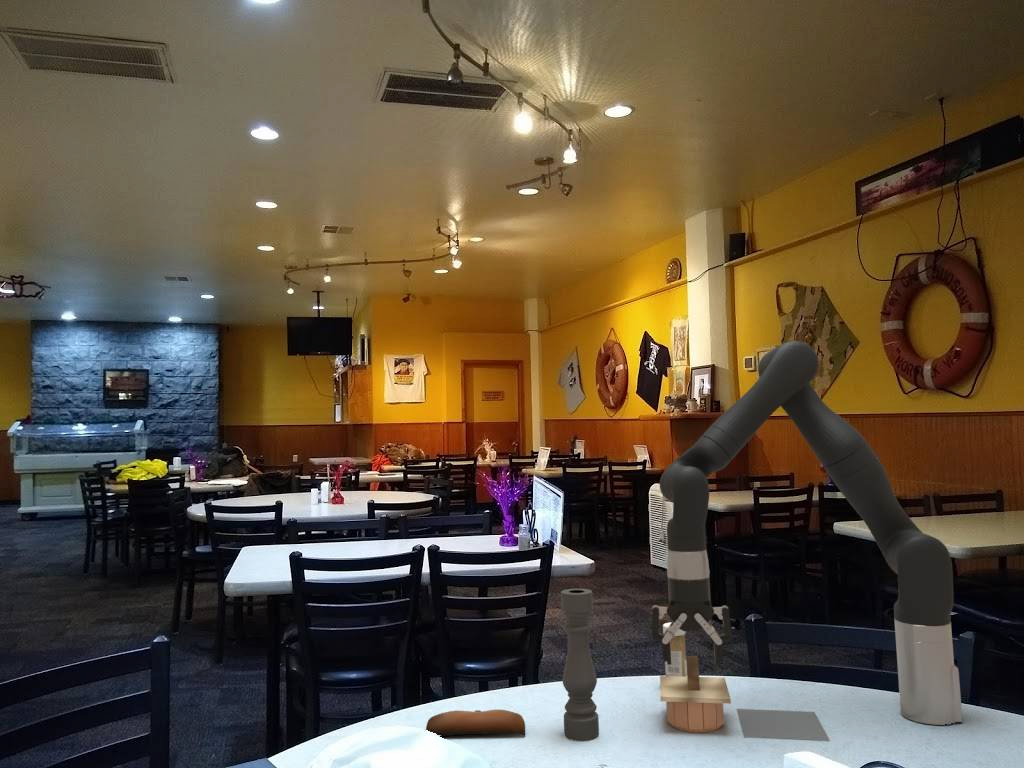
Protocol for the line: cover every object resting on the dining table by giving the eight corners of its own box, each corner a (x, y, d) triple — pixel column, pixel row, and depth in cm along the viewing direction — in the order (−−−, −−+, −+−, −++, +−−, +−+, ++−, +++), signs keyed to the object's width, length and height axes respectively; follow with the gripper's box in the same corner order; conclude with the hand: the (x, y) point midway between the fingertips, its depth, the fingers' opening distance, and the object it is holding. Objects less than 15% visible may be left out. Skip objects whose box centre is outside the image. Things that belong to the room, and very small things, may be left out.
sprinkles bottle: (692, 689, 157) (689, 623, 158) (680, 695, 154) (676, 627, 155) (673, 685, 160) (670, 620, 161) (661, 690, 157) (658, 624, 158)
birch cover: (724, 682, 143) (723, 650, 143) (730, 703, 131) (729, 669, 132) (660, 680, 145) (658, 649, 146) (660, 701, 133) (659, 667, 134)
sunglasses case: (526, 719, 143) (525, 694, 140) (526, 752, 136) (525, 726, 133) (431, 721, 143) (428, 696, 140) (427, 754, 137) (423, 729, 134)
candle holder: (603, 730, 136) (598, 589, 138) (592, 743, 131) (587, 595, 133) (571, 725, 139) (566, 587, 141) (559, 738, 133) (554, 593, 135)
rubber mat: (814, 714, 141) (814, 711, 141) (830, 743, 127) (830, 741, 128) (736, 711, 144) (736, 708, 144) (744, 739, 130) (744, 737, 130)
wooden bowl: (721, 716, 142) (720, 683, 142) (725, 737, 132) (724, 701, 132) (667, 714, 144) (665, 681, 144) (667, 734, 134) (665, 699, 134)
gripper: (726, 570, 142) (731, 659, 141) (649, 570, 145) (653, 657, 143) (729, 577, 135) (735, 671, 133) (648, 577, 137) (653, 669, 136)
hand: (692, 664), depth 138 cm, fingers open, 8 cm apart
